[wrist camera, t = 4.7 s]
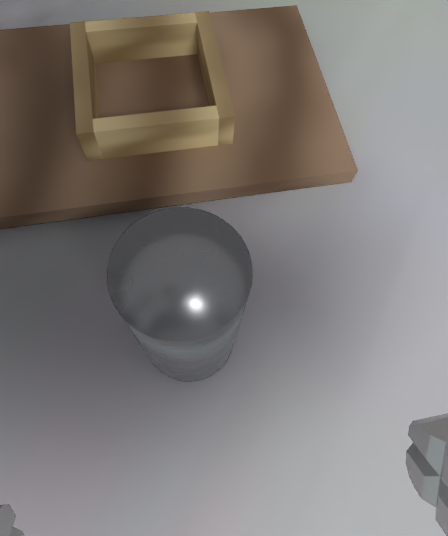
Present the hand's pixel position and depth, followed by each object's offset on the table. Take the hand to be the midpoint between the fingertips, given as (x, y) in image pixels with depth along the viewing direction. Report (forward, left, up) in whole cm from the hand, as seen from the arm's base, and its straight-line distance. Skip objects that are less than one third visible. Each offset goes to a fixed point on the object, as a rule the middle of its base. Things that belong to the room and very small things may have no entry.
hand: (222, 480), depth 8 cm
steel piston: (0, +5, -9) cm, 10 cm away
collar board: (0, +19, -9) cm, 21 cm away
